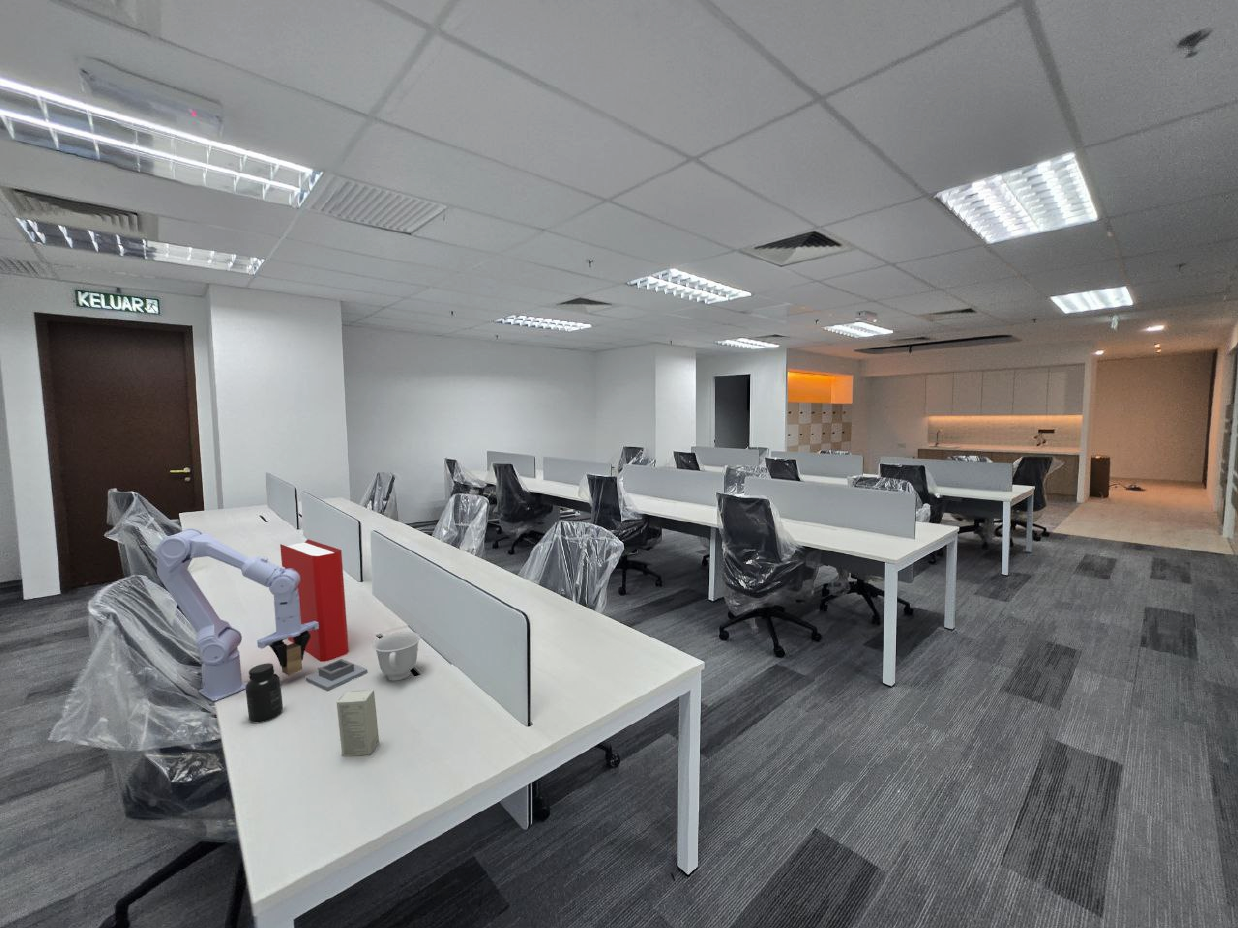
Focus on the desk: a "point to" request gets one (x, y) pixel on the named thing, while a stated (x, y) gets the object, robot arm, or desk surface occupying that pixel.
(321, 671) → the stand
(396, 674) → the teacup
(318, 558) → the book
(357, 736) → the skincare box
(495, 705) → the desk surface
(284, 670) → the oak peg
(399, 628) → the desk surface
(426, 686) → the desk surface
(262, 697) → the supplement bottle
